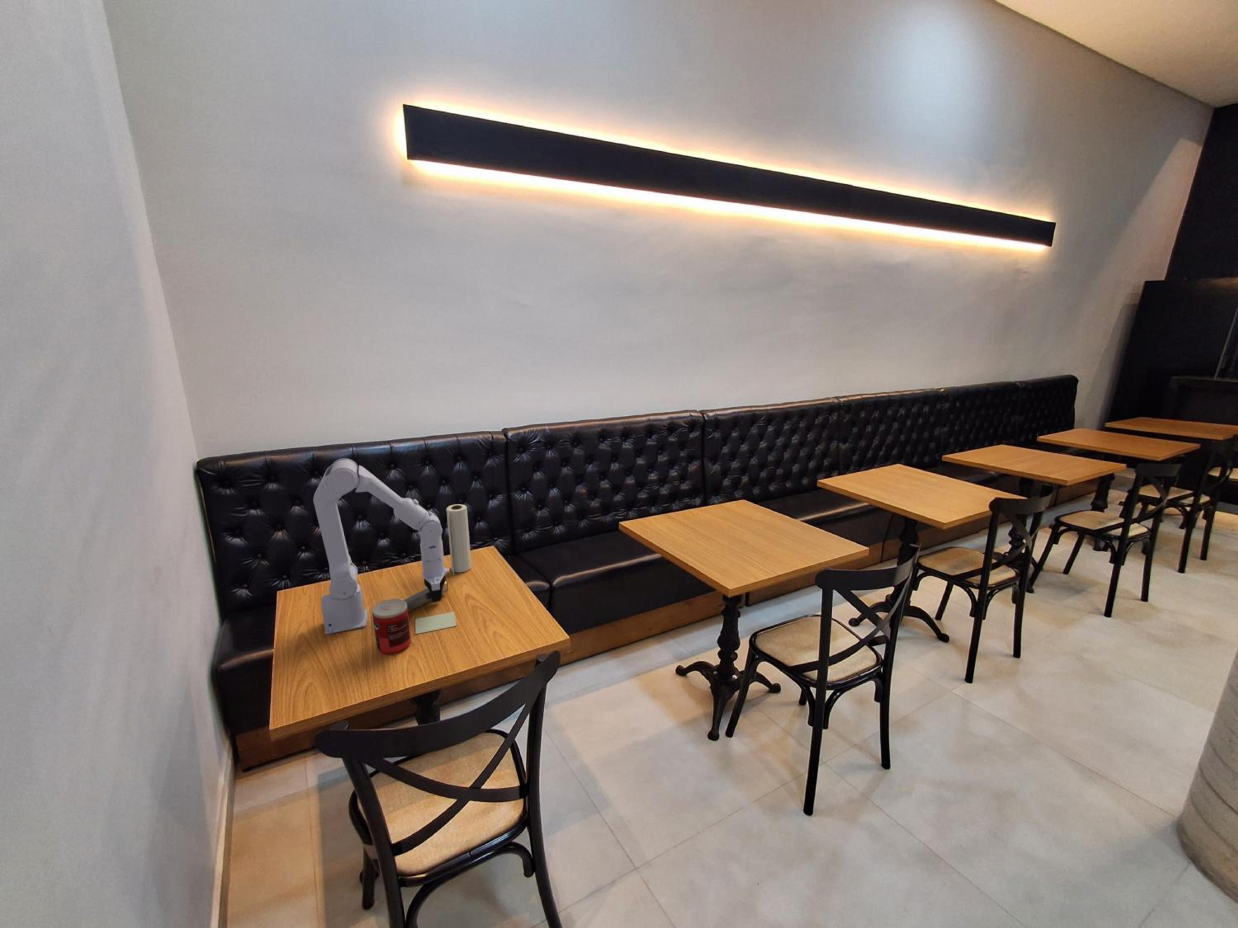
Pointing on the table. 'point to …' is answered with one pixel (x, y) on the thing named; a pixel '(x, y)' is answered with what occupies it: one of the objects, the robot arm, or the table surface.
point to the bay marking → (435, 622)
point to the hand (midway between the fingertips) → (436, 600)
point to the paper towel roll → (458, 538)
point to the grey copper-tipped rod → (422, 597)
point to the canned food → (391, 626)
